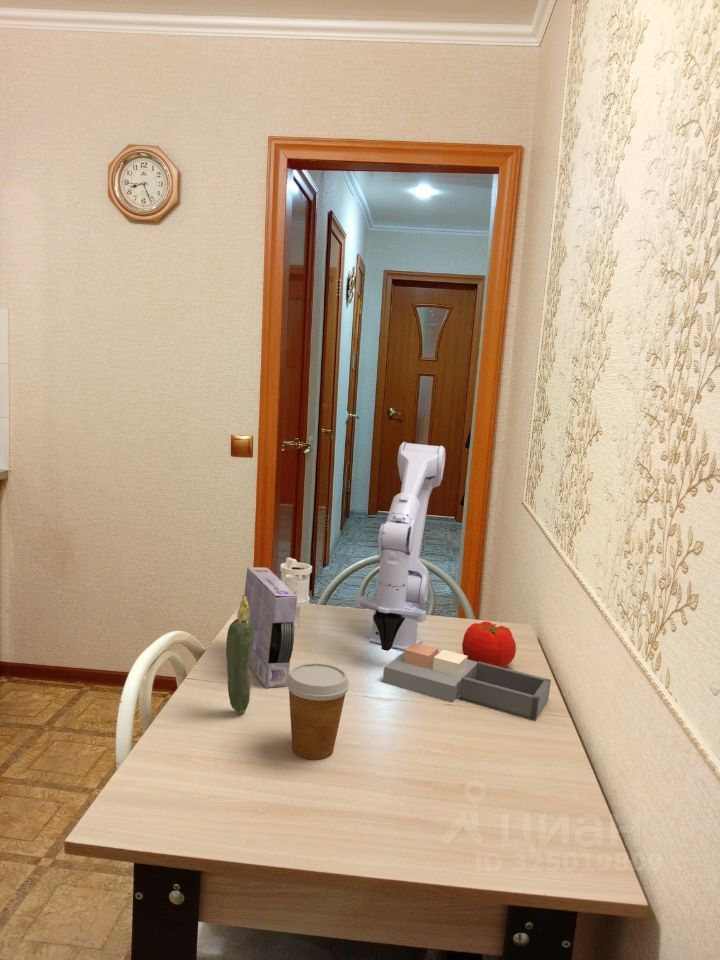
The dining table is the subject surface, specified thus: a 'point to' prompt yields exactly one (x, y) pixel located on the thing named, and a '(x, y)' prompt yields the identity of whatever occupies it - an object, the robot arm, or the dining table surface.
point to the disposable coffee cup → (315, 708)
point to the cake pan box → (270, 625)
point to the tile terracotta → (420, 655)
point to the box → (506, 690)
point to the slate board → (426, 678)
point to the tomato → (489, 644)
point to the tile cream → (450, 663)
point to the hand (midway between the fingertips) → (386, 648)
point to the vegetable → (239, 658)
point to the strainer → (297, 583)
